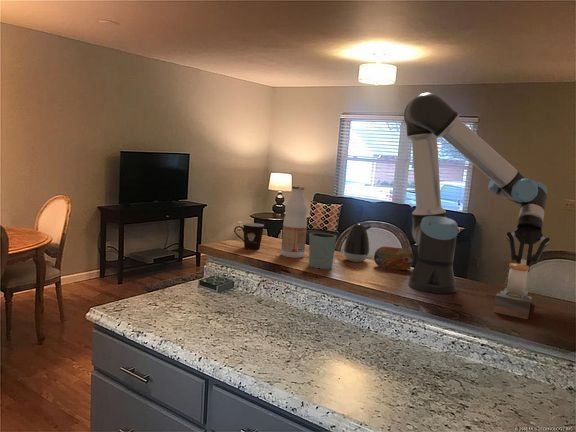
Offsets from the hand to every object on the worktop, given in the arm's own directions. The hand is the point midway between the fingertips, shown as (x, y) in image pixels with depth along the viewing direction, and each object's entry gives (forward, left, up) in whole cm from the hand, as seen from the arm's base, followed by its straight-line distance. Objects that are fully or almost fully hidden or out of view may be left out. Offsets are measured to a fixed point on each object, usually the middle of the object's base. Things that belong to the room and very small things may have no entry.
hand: (520, 278), depth 149 cm
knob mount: (+2, -6, -8) cm, 10 cm away
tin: (-47, -9, -8) cm, 48 cm away
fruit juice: (-74, -38, -8) cm, 83 cm away
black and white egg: (-61, -16, -8) cm, 63 cm away
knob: (+1, -4, -6) cm, 7 cm away
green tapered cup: (-56, -37, -8) cm, 67 cm away
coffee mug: (-91, -49, -8) cm, 103 cm away
